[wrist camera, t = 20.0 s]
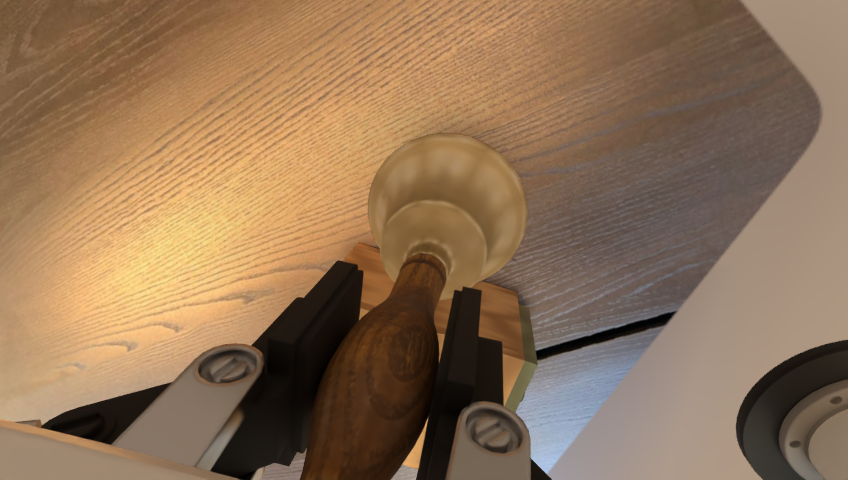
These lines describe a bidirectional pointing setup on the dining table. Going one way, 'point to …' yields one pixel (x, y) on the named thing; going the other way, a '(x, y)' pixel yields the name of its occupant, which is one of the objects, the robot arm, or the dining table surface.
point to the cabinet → (494, 320)
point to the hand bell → (412, 299)
